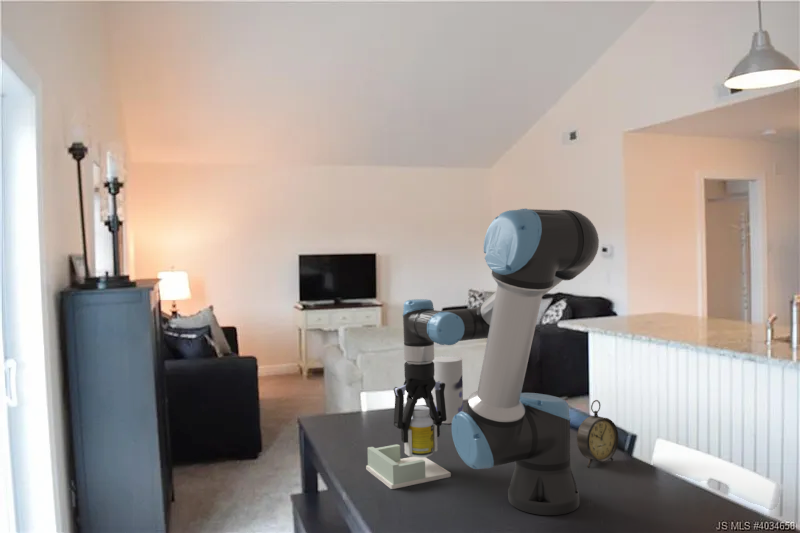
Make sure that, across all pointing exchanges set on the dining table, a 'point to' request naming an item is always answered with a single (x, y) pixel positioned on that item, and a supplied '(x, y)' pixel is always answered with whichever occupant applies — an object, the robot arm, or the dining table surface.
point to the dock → (402, 467)
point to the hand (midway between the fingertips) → (421, 452)
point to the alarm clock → (597, 438)
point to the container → (449, 384)
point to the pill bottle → (421, 432)
